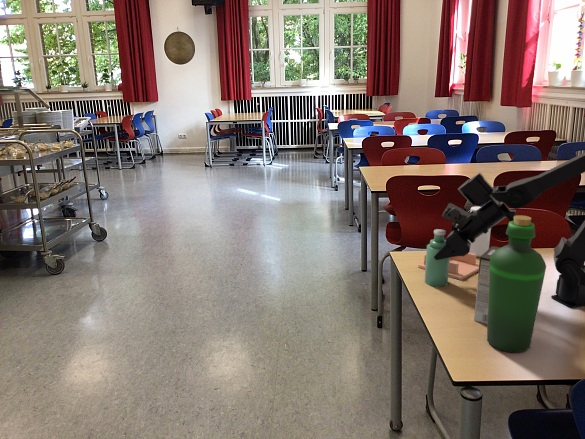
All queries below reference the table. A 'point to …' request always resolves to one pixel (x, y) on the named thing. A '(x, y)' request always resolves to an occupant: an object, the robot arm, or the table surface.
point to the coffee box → (483, 287)
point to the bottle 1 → (436, 262)
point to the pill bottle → (480, 241)
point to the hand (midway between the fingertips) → (437, 253)
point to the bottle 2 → (514, 288)
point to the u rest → (460, 266)
